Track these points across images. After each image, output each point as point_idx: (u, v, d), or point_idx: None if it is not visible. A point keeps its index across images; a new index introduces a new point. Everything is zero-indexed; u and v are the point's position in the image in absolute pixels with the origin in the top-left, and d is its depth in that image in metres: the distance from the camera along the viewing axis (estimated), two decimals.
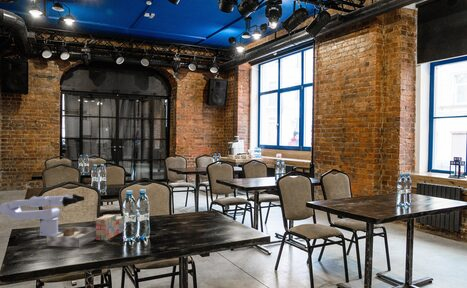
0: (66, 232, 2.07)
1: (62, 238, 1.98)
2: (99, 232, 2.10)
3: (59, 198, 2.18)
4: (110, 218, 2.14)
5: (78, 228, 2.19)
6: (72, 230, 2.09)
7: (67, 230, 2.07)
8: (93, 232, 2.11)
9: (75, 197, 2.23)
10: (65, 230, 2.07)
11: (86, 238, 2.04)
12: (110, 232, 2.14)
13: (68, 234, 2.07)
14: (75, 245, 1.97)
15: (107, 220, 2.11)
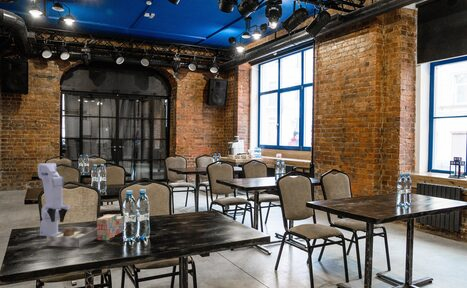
0: (66, 232, 2.07)
1: (62, 238, 1.98)
2: (100, 232, 2.10)
3: (51, 201, 2.08)
4: (111, 218, 2.14)
5: (78, 228, 2.19)
6: (72, 230, 2.09)
7: (67, 230, 2.07)
8: (93, 232, 2.11)
9: None
10: (65, 230, 2.07)
11: (86, 238, 2.04)
12: (111, 232, 2.14)
13: (68, 234, 2.07)
14: (75, 245, 1.97)
15: (108, 220, 2.11)
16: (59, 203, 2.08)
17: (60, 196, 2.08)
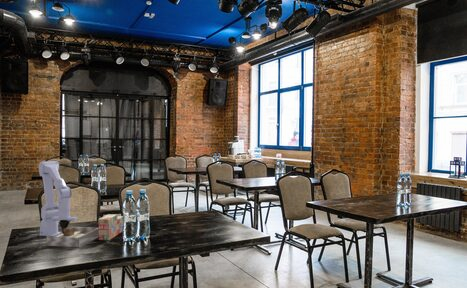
0: (66, 232, 2.07)
1: (62, 238, 1.98)
2: (102, 232, 2.10)
3: (58, 213, 2.08)
4: (112, 218, 2.15)
5: (78, 228, 2.19)
6: (72, 230, 2.09)
7: (67, 230, 2.07)
8: (93, 232, 2.11)
9: None
10: (65, 230, 2.07)
11: (86, 238, 2.04)
12: (112, 231, 2.14)
13: (68, 234, 2.07)
14: (75, 245, 1.97)
15: (110, 220, 2.11)
16: (67, 215, 2.07)
17: (68, 207, 2.08)
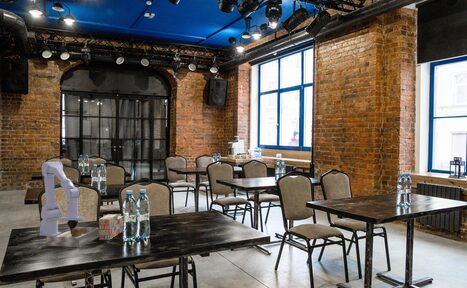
0: (74, 232, 2.06)
1: (62, 238, 1.98)
2: (102, 232, 2.10)
3: (67, 213, 2.07)
4: (113, 218, 2.15)
5: None
6: (80, 230, 2.08)
7: (75, 230, 2.06)
8: (93, 232, 2.11)
9: None
10: (73, 230, 2.06)
11: (86, 238, 2.04)
12: (113, 231, 2.15)
13: (76, 234, 2.06)
14: (75, 245, 1.97)
15: (111, 220, 2.11)
16: (75, 215, 2.06)
17: (77, 208, 2.08)
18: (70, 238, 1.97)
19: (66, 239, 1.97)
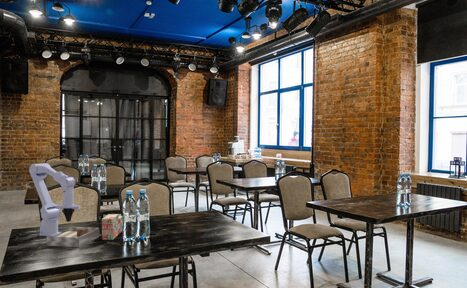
0: (80, 233, 2.05)
1: (62, 238, 1.98)
2: (105, 231, 2.10)
3: (63, 201, 2.14)
4: (115, 217, 2.15)
5: (78, 228, 2.19)
6: (85, 231, 2.08)
7: (81, 231, 2.05)
8: (93, 232, 2.11)
9: None
10: (79, 231, 2.06)
11: (86, 238, 2.04)
12: (115, 231, 2.15)
13: None
14: (75, 245, 1.97)
15: (113, 219, 2.12)
16: (71, 203, 2.13)
17: (73, 196, 2.15)
18: (70, 238, 1.97)
19: (66, 239, 1.97)
